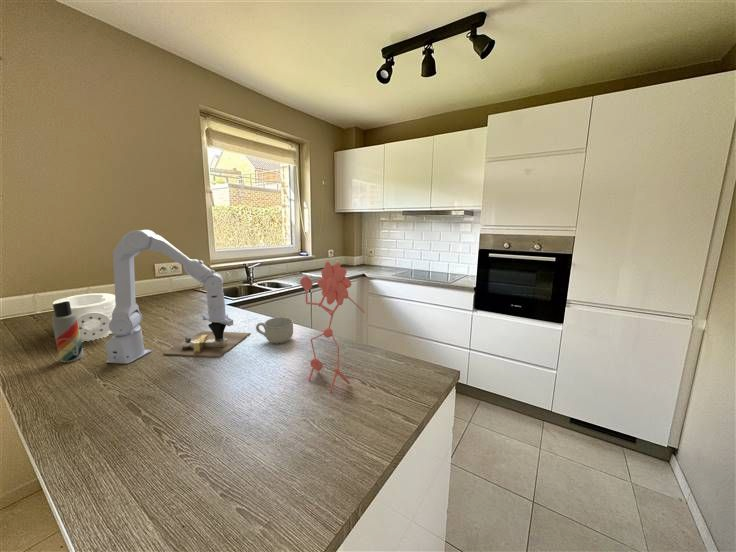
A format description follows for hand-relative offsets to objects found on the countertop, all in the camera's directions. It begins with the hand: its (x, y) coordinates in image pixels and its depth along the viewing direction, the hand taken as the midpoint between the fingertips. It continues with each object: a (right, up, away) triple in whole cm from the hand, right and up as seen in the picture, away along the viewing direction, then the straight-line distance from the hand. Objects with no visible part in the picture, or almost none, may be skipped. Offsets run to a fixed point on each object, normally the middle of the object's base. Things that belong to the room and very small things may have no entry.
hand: (219, 340), depth 110 cm
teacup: (+20, -1, +4) cm, 20 cm away
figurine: (+47, -6, -22) cm, 52 cm away
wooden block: (-4, -1, -3) cm, 5 cm away
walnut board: (-4, -1, +1) cm, 4 cm away
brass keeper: (-4, -2, -4) cm, 6 cm away
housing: (-60, +1, +15) cm, 62 cm away
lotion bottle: (-44, -4, -11) cm, 46 cm away
